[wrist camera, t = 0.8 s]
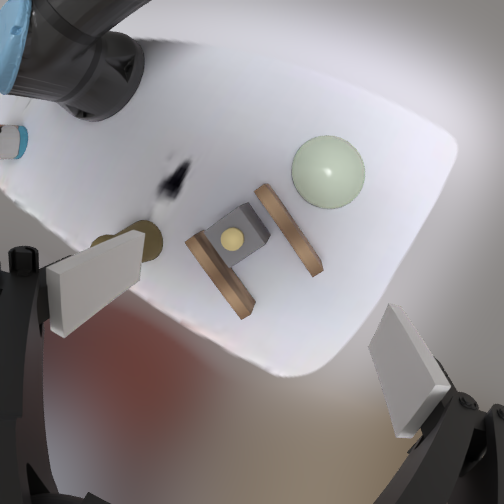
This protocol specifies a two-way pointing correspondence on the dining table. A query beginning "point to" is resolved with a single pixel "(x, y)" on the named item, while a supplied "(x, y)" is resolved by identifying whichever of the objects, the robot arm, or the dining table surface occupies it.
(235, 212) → the plug
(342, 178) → the saucer
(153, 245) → the cork
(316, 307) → the dining table surface
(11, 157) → the cup
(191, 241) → the guide channel
